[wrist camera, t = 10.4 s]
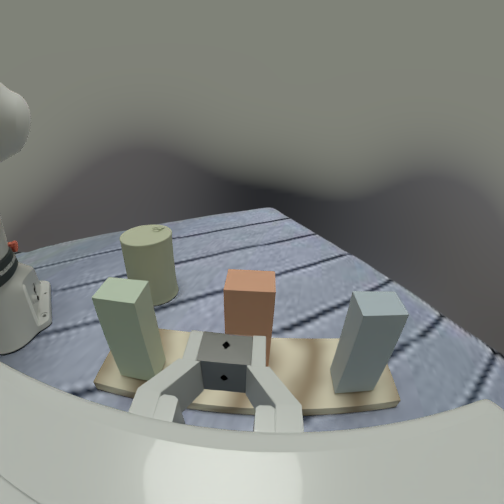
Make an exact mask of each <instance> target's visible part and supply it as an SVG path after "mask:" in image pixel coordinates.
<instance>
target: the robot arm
mask: <svg viewBox="0 0 504 504" xmlns="http://www.w3.org/2000/svg"><path fill="white" fill-rule="evenodd" d="M30 126H31V116H30V110H29V107H28V104H27V102H26V101H25V100H24V98H23V97H22V96H21V95H19V94H18V93H15V92H13V91H11V90H9V89H8V88H6V87H5V86H4V85H3V84H2V83H1V82H0V162H2V161H4V160H6V159H8V158H9V157H11V156H13V155H15V154H16V153H18V152H20V151H21V149H22V148H23V146H24V144H25V142H26V140H27V138H28V135H29V131H30ZM17 245H18V244H17V242H16V241H13V242H8V243H7V240H6V236H5V232H4V228H3V224H2V219H1V215H0V354H5V353H10V352H13V351H15V350H17V349H19V348H21V347H23V346H24V345H25V344H27V343H28V342H29V341H30V340H31V339H32V338H33V337H34V336H35V335H36V334H37V333H38V332H39V331H41V330H43V329H44V328H46V327H48V326H49V325H50V324H51V322H52V316H51V285H50V283H49V282H47V281H39V280H38V277H37V275H36V272H35V270H34V268H33V267H31V266H28V265H25V264H22V263H20V262H18V260H17V258H16V256H15V254H14V253H13V252H17V251H18V246H17ZM252 342H253V343H252ZM204 389H208V390H220V391H230V392H239V393H245V394H246V396H247V397H248V399H249V401H250V402H251V404H252V406H253V407H254V409H255V418H254V426H253V432H250V431H235V430H224V429H215V428H207V427H199V426H192V425H186V424H185V421H184V418H183V415H182V412H183V411H184V410H185V409H186V408H187V407H188V406H189V405H190V404H191V403H192V402H193V401H194V400H195V399H196V398H197V397H198V396H199V395H200V394H201V393H202V392H203V391H204ZM0 504H504V410H503V409H502V408H500V407H499V406H498V405H496V404H495V403H493V402H492V401H490V400H487V399H483V400H480V401H477V402H474V403H471V404H468V405H465V406H462V407H459V408H455V409H452V410H449V411H445V412H442V413H438V414H434V415H430V416H426V417H422V418H417V419H413V420H408V421H403V422H398V423H392V424H387V425H380V426H374V427H366V428H358V429H349V430H338V431H324V432H304V429H303V416H302V405H301V404H300V403H299V402H298V400H297V399H296V398H295V397H294V396H293V395H292V393H291V392H290V391H289V390H288V389H287V387H286V386H285V385H284V384H283V383H282V381H281V380H280V379H279V378H278V377H277V375H276V374H275V373H274V372H273V370H272V369H271V368H270V367H266V336H252V335H235V334H222V333H213V332H205V331H204V332H203V331H195V330H192V331H191V333H190V335H189V339H188V342H187V345H186V348H185V351H184V355H183V358H182V359H180V358H179V359H177V360H176V361H175V362H173V363H172V364H170V365H169V366H168V367H166V368H165V369H164V370H162V371H161V372H159V373H158V374H157V375H155V376H154V377H153V378H151V379H150V380H148V381H147V382H146V383H144V384H143V385H141V386H140V387H138V389H137V391H136V394H135V396H134V399H133V402H132V404H131V407H130V409H129V412H125V411H121V410H118V409H114V408H111V407H107V406H104V405H101V404H98V403H95V402H92V401H89V400H86V399H83V398H80V397H77V396H74V395H72V394H69V393H66V392H64V391H61V390H59V389H56V388H54V387H52V386H49V385H47V384H45V383H42V382H40V381H38V380H36V379H33V378H31V377H29V376H27V375H25V374H23V373H21V372H19V371H17V370H15V369H13V368H11V367H9V366H7V365H6V364H4V363H2V362H0Z"/></svg>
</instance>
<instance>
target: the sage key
mask: <svg viewBox="0 0 504 504" xmlns="http://www.w3.org/2000/svg"><path fill="white" fill-rule="evenodd" d="M92 300H93V303H94V306H95V309H96V312H97V315H98V318H99V321H100V324H101V327H102V329H103V332H104V335H105V338H106V340H107V343H108V345H109V348H110V350H111V353H112V355H113V358H114V360H115V362H116V365H117V367H118V369H119V371H120V374H121V375H123V376H127V377H132V378H137V379H142V380H147V381H148V380H150V379H151V378H153V377H154V376H155V375H157V374H158V373H159V372H161V371H162V368H163V366H164V363H165V360H166V358H165V354H164V350H163V346H162V342H161V338H160V334H159V329H158V325H157V321H156V316H155V311H154V306H153V302H152V296H151V291H150V286H149V281H143V280H132V279H122V278H111V277H109V278H108V279H107V280H106V281H105V282H104V283H103V285H102V286H101V287H100V288H99V289H98V291H97V292H96V293H95V294H94V295H93V297H92Z"/></svg>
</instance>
